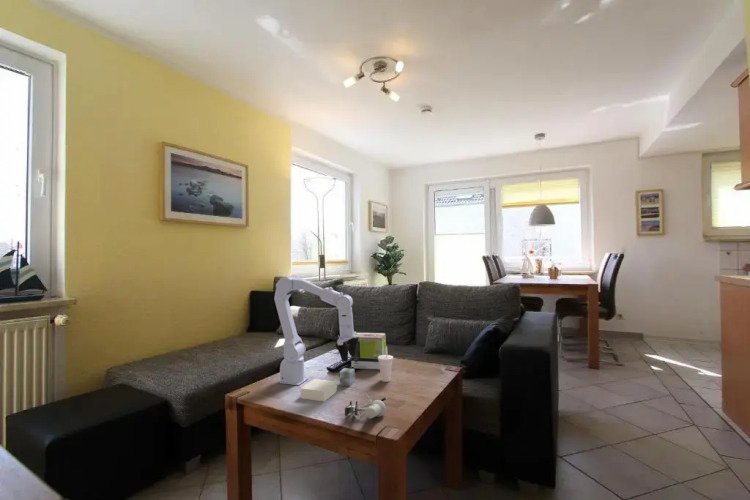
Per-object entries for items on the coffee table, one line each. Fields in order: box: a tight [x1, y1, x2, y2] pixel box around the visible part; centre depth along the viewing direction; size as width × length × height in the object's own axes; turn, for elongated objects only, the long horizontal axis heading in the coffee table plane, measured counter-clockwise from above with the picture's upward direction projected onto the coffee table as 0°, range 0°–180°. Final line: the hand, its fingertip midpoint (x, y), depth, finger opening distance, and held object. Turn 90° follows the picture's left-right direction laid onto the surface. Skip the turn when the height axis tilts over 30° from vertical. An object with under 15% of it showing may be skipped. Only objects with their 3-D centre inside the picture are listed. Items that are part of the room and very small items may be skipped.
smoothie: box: [378, 345, 394, 383], centre depth 146 cm, size 6×6×14 cm
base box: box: [299, 378, 338, 402], centre depth 133 cm, size 10×10×4 cm
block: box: [339, 367, 356, 387], centre depth 143 cm, size 5×5×6 cm
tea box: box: [350, 332, 387, 370], centre depth 165 cm, size 15×10×15 cm
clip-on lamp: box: [344, 392, 389, 421], centre depth 117 cm, size 12×6×18 cm
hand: (348, 358), depth 143 cm, fingers open, 7 cm apart
